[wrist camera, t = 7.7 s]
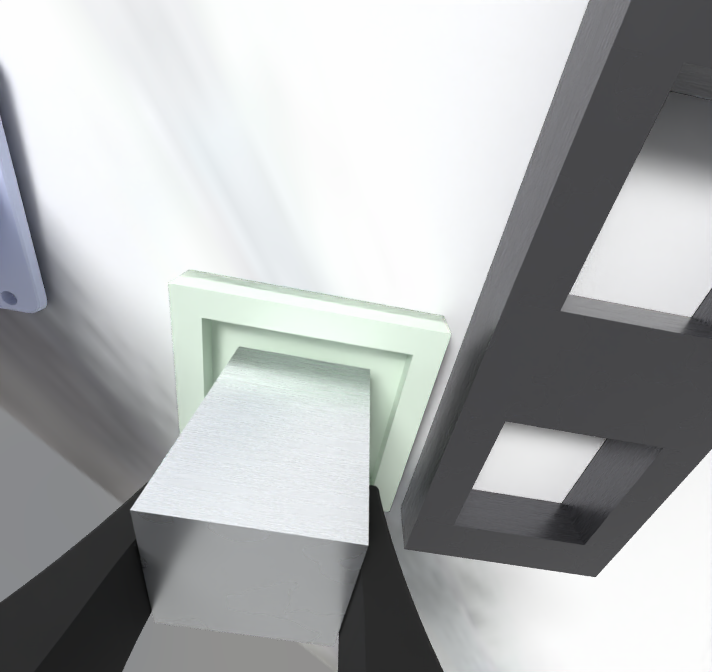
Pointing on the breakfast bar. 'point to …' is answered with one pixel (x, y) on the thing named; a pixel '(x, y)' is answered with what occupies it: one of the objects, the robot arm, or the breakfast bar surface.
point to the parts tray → (312, 351)
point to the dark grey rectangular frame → (576, 323)
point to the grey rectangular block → (262, 502)
